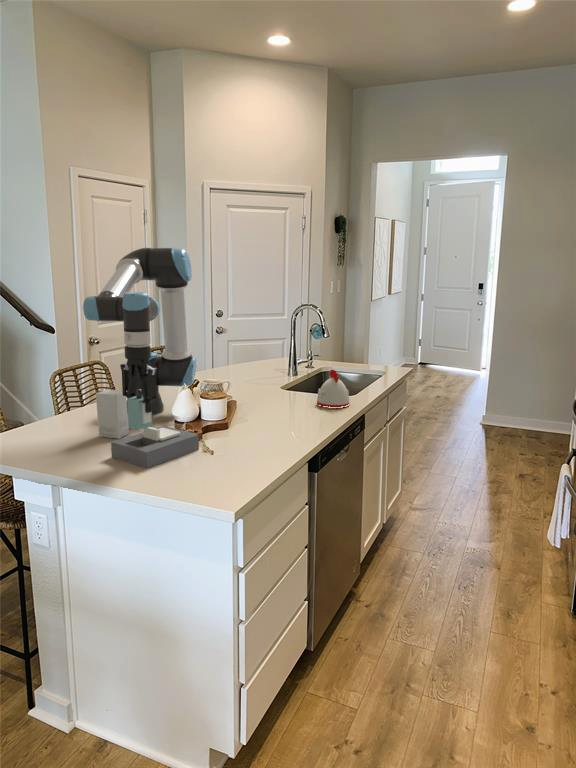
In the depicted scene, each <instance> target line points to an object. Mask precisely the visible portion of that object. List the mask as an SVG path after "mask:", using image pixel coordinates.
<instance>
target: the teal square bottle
mask: <svg viewBox="0 0 576 768" xmlns="http://www.w3.org/2000/svg"><path fill="white" fill-rule="evenodd" d="M147 398H148V397H147ZM126 400H127V403H128V427H129V428H131V429H135V430H139V431H141V430H143V429H144V428H148V427H153V415H152V412H151V422H149V423H146V424H143V421H142V401H144V400H143V396H142V390H141V389H137V390H136V396H134V397H130V398H127V397H126Z"/></svg>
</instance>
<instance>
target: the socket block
mask: <svg viewBox="0 0 576 768" xmlns="http://www.w3.org/2000/svg"><path fill="white" fill-rule="evenodd" d="M155 428H156V429H159V428H166V429H170V430H174V431H178V432H181V435H178V436H175V437H172V438H169V439H166V440H163V441H160V440H158V441H156V440H152V439H148V438H145V437H144V436H143V433H144V432H139V433H136V434H135V433H134V434H132V435H129V436H126V437H122V438H119V439H117V440H112V441H111V442H110V449H111V450H110V451H111V458H113V459H116V460H119V461H122V462H125V463H129V464H131V465H135V466H138V467H142V468H145V469H150V468H153V467H155V466H158V465H161V464H163V463H166V462H169V461H172V460H174V459H176V458H179V457H181V456H184V455H188V454H190V453H193V452H197V451H198V450H199V449H200V437H199V436H200V435H199V434H198V433H194V432H190V431H186V430H183V429H182V430H181V429H178V428H174V427H169V426H166V425H163V426H159V427H155Z"/></svg>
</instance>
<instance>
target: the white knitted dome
mask: <svg viewBox="0 0 576 768" xmlns="http://www.w3.org/2000/svg"><path fill="white" fill-rule="evenodd" d="M339 378H340V377H338V373H337V370H335V369H330V371H329V378H328V379H327V380H325V382H324V383H323V384H322V385H321V387H320V388H318V390H317V398H316V405H317V404H318V405H321V406H328V407H329V406H330V407H341V406H346V405H348V404H349V405H350V396H349V395H350V392H349V389H347V387H346V385H345V384H344V382H343V381H342V380H340V379H339ZM318 405H317V406H318Z"/></svg>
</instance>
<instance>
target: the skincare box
mask: <svg viewBox="0 0 576 768" xmlns="http://www.w3.org/2000/svg"><path fill="white" fill-rule="evenodd" d="M95 401H96V411H97V412H96V413H97V421H98V422H97V423H98V434H99V435H98V436H99V437H100V438H108V439H110V438H111V439H117V440H119V439H122V438H125V436H126V437H127V435H129V434H130V430H129V429H130V427H128V413H127V397H126V396H123V393H122V390H115V389H105V390H102V391H100V392H97V393H95Z"/></svg>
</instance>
